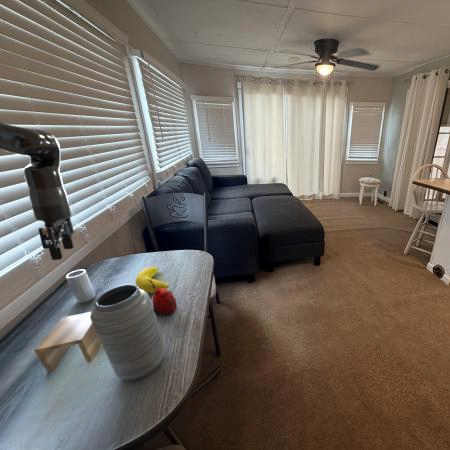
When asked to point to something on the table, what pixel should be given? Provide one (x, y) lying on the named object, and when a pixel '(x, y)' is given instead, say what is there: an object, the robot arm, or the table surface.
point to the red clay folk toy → (163, 301)
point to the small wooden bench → (68, 340)
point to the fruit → (143, 281)
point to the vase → (128, 331)
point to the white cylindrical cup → (81, 285)
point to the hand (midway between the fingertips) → (63, 253)
